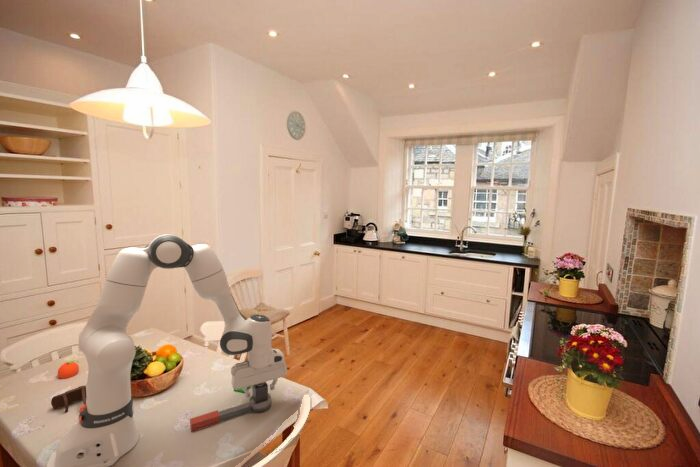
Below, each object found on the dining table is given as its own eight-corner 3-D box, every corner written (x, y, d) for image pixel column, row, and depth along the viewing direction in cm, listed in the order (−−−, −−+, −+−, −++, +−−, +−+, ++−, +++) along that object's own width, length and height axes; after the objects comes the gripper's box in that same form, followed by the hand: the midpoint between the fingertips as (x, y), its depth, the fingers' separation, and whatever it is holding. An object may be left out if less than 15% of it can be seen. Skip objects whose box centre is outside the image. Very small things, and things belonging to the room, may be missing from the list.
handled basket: (51, 411, 118) (50, 393, 118) (90, 396, 127) (89, 379, 127) (64, 433, 107) (63, 414, 107) (106, 415, 117) (105, 397, 116)
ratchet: (192, 436, 107) (191, 419, 107) (189, 421, 114) (188, 405, 113) (274, 408, 122) (273, 393, 121) (267, 397, 129) (267, 383, 128)
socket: (255, 404, 120) (255, 388, 119) (252, 397, 124) (252, 382, 123) (267, 400, 122) (267, 384, 122) (264, 393, 126) (264, 378, 126)
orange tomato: (73, 371, 144) (72, 356, 144) (86, 373, 143) (85, 358, 142) (53, 381, 137) (52, 365, 136) (67, 383, 135) (65, 367, 135)
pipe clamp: (243, 384, 131) (233, 382, 132) (243, 393, 131) (233, 391, 132) (257, 370, 141) (248, 369, 143) (257, 378, 142) (248, 377, 143)
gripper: (233, 368, 113) (233, 405, 115) (288, 355, 124) (288, 389, 125) (229, 361, 118) (229, 396, 120) (282, 348, 129) (282, 381, 131)
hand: (260, 392), depth 123 cm, fingers open, 8 cm apart
